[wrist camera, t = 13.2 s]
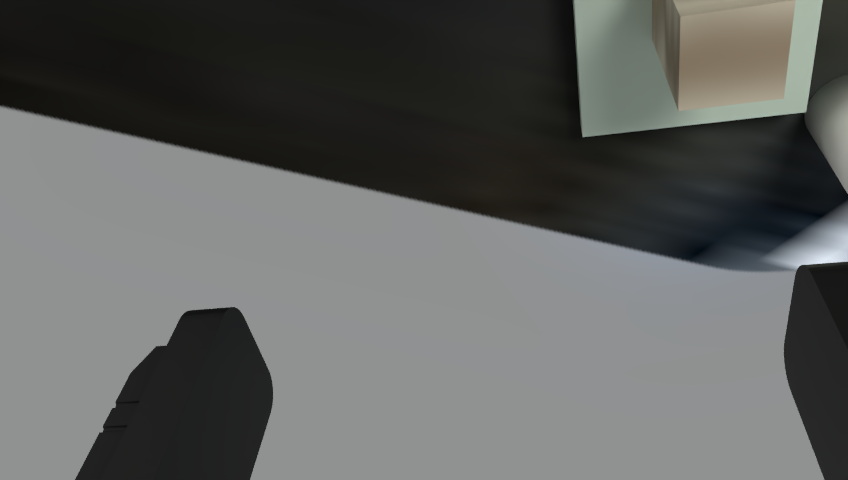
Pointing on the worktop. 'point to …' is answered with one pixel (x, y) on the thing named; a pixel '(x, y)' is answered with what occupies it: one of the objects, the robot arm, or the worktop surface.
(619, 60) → the cutting board
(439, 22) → the worktop surface
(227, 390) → the robot arm
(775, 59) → the ash block
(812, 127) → the ceramic jar
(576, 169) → the worktop surface
